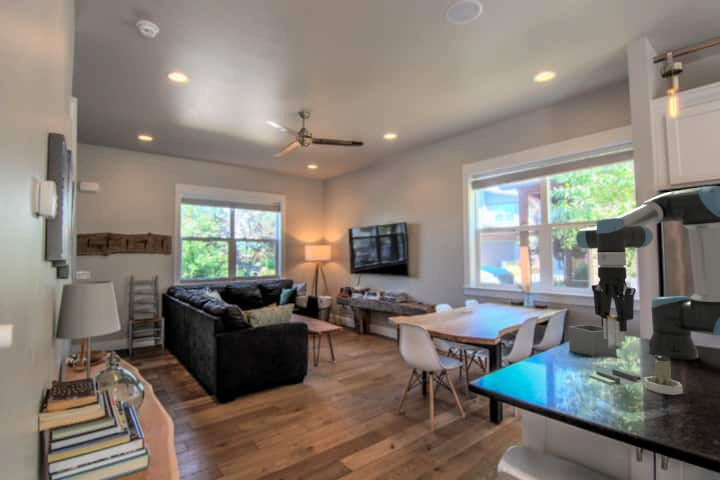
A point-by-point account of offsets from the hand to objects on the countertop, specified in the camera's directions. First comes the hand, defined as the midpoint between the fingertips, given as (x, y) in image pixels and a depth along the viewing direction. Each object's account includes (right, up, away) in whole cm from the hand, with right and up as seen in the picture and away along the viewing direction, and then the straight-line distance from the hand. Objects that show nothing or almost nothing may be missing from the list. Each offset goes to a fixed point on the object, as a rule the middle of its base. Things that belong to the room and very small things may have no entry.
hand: (614, 339), depth 115 cm
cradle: (0, -13, 0) cm, 13 cm away
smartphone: (+15, -15, +34) cm, 40 cm away
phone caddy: (+15, -14, +34) cm, 39 cm away
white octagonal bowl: (+7, -13, -10) cm, 18 cm away
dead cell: (+8, -12, -9) cm, 17 cm away
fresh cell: (0, -2, 0) cm, 2 cm away
